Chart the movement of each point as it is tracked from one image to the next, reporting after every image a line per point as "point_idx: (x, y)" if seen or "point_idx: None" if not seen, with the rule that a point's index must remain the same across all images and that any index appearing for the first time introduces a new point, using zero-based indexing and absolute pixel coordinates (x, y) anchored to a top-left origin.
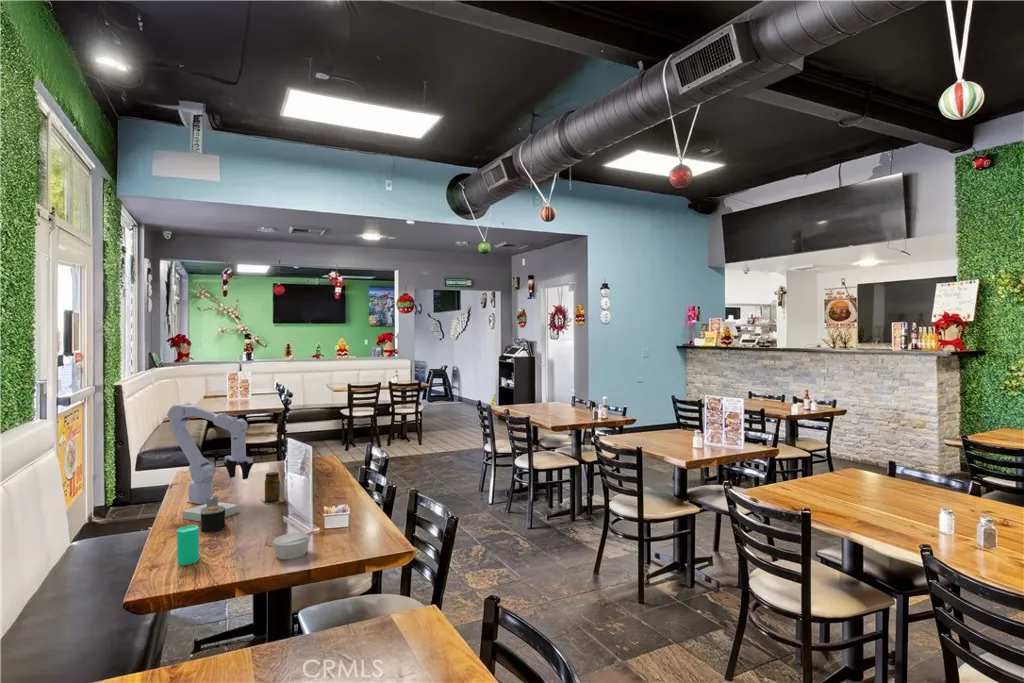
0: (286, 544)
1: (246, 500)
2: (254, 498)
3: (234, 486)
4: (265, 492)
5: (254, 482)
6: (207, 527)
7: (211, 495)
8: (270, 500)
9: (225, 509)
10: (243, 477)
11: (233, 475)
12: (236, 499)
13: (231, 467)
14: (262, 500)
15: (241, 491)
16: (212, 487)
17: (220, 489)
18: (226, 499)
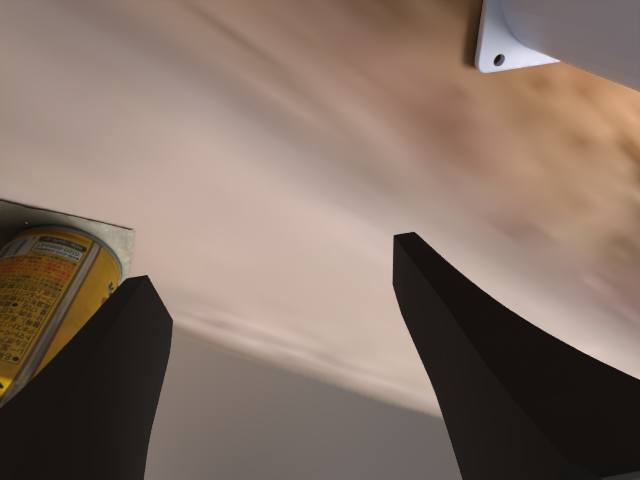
0: None
1: (228, 176)
2: (229, 231)
3: (575, 296)
4: (19, 276)
5: None
6: None
7: (527, 4)
8: (8, 244)
9: None
10: (108, 297)
11: (400, 287)
12: (328, 154)
13: (466, 391)
14: (110, 229)
15: (459, 269)
16: (588, 45)
17: (630, 233)
18: (407, 113)
